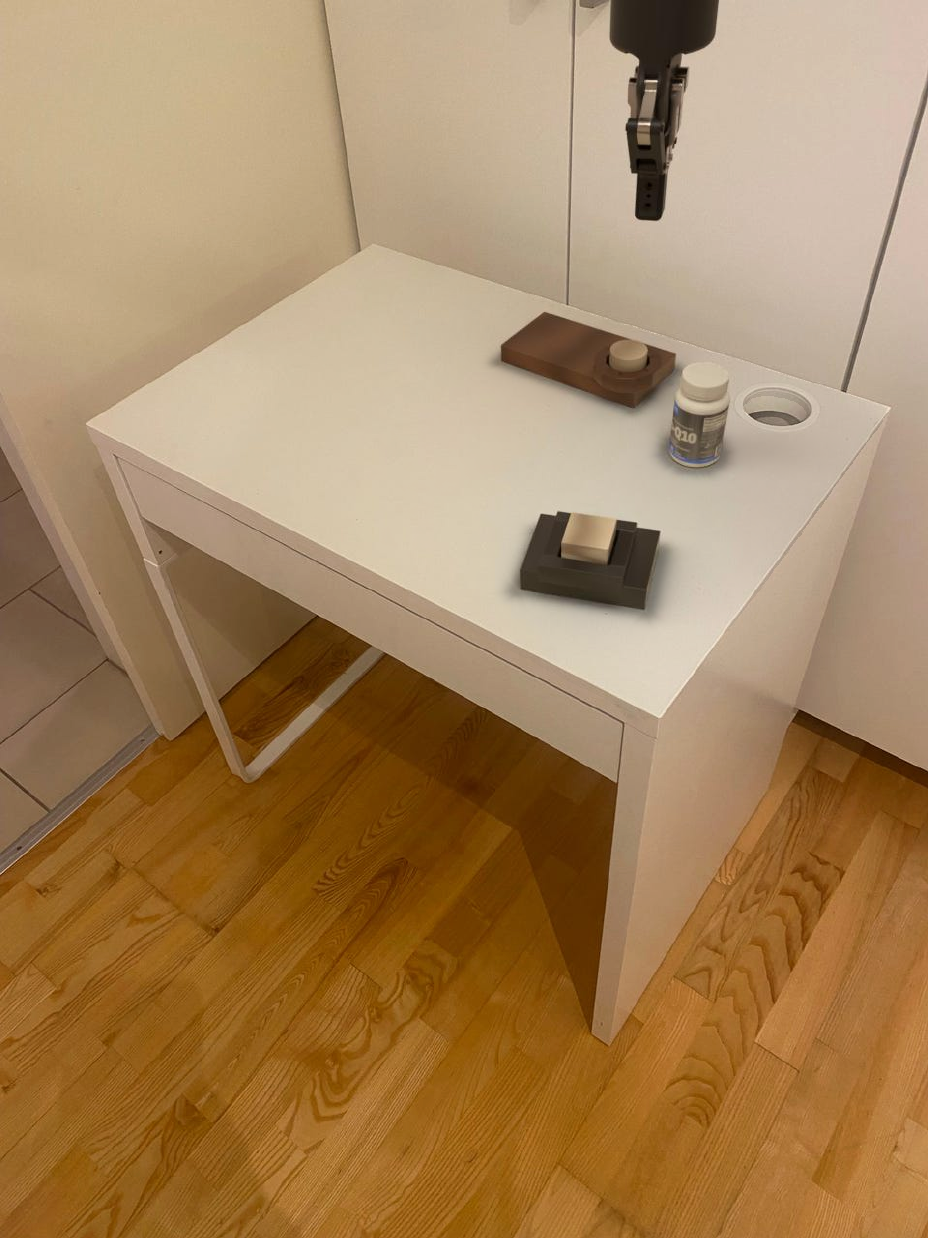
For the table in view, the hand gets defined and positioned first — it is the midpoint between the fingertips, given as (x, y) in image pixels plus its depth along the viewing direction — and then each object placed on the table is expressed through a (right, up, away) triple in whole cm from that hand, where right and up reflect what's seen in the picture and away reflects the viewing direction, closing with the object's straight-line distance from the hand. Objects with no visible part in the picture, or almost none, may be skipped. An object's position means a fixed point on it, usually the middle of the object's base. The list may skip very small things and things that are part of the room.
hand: (649, 216), depth 78 cm
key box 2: (-5, -29, 0) cm, 29 cm away
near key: (-5, -27, -3) cm, 28 cm away
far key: (+1, -8, +15) cm, 17 cm away
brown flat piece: (-3, -7, +21) cm, 22 cm away
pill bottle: (+6, -18, +10) cm, 21 cm away
